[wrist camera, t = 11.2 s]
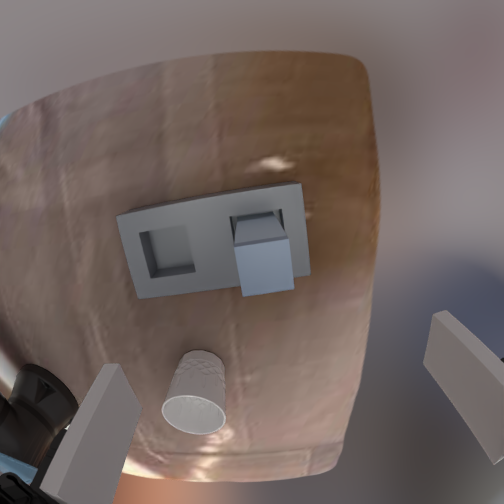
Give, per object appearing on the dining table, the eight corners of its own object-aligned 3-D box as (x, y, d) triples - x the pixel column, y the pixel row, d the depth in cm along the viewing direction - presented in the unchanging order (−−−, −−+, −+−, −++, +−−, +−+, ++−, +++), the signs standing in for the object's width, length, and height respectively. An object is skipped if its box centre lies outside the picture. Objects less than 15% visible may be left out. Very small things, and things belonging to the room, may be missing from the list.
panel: (148, 285, 36) (138, 299, 32) (129, 210, 33) (115, 216, 29) (303, 262, 35) (310, 275, 31) (294, 180, 32) (301, 183, 28)
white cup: (176, 342, 38) (160, 390, 29) (231, 350, 39) (228, 400, 29) (175, 381, 41) (163, 428, 31) (225, 388, 41) (222, 437, 32)
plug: (243, 250, 34) (242, 296, 22) (237, 216, 32) (233, 247, 21) (277, 245, 34) (294, 288, 22) (272, 211, 32) (288, 238, 21)
